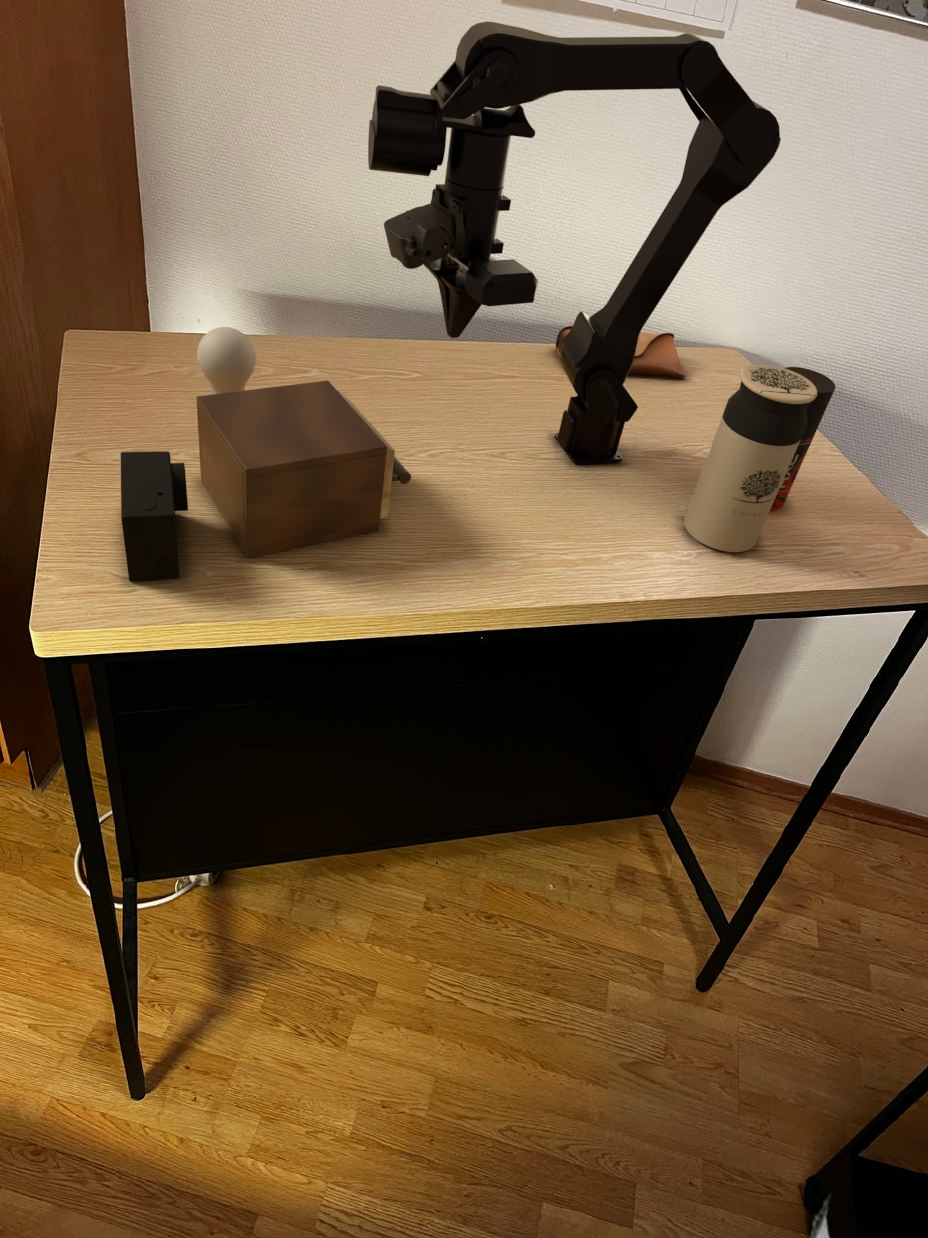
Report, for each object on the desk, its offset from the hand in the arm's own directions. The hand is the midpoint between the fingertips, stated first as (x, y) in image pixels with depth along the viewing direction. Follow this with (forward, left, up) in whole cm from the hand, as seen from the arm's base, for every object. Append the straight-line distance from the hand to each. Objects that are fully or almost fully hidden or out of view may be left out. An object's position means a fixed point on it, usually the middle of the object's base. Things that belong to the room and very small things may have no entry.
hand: (453, 336), depth 96 cm
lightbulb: (+23, -6, -13) cm, 27 cm away
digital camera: (+32, +16, -13) cm, 38 cm away
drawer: (+15, +10, -12) cm, 22 cm away
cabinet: (+19, +11, -13) cm, 26 cm away
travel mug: (-26, +21, -13) cm, 36 cm away
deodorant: (-35, +15, -13) cm, 40 cm away
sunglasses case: (-33, -19, -13) cm, 41 cm away
